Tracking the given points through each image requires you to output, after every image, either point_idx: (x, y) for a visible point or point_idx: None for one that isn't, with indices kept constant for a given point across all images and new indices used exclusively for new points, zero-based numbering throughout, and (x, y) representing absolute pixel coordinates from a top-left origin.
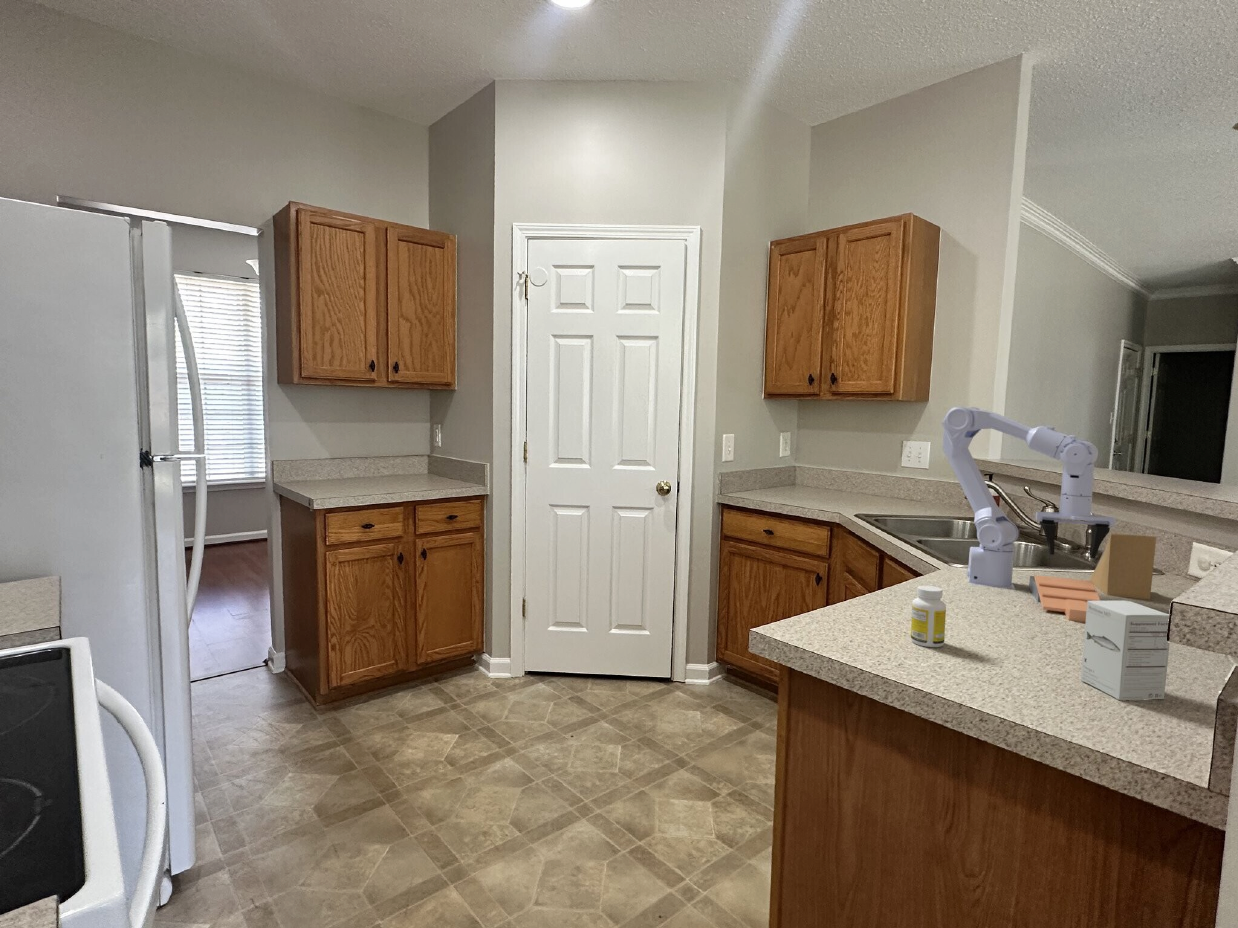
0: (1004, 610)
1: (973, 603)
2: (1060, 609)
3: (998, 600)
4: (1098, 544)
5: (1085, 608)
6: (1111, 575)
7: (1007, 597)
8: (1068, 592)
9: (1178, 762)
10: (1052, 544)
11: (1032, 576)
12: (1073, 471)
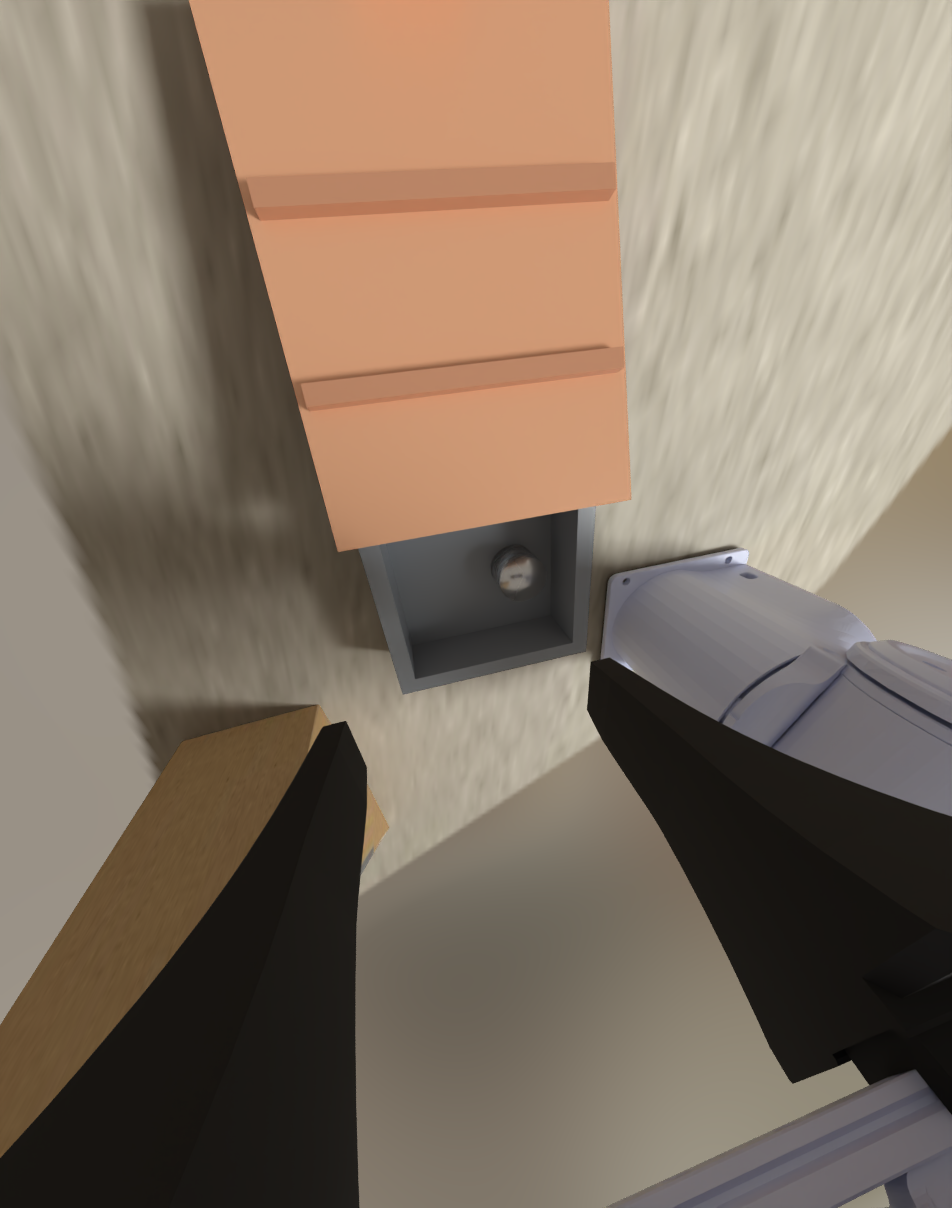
0: (768, 22)
1: (868, 143)
2: None
3: (715, 335)
4: (260, 855)
5: None
6: (289, 784)
7: (659, 437)
8: (458, 312)
9: None
10: (662, 704)
11: (578, 647)
12: None
